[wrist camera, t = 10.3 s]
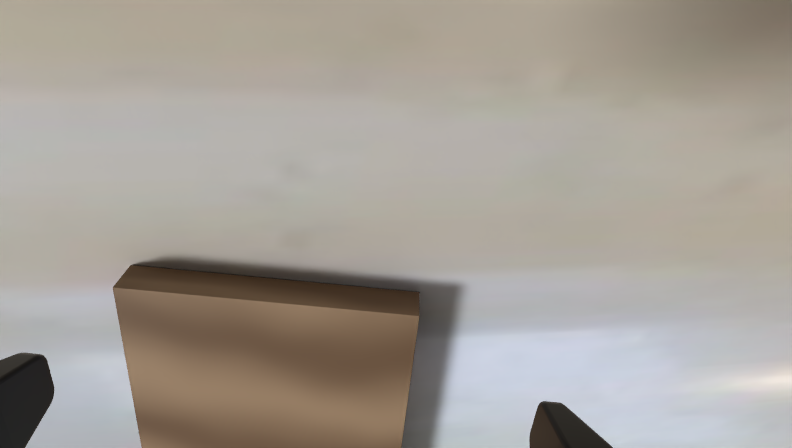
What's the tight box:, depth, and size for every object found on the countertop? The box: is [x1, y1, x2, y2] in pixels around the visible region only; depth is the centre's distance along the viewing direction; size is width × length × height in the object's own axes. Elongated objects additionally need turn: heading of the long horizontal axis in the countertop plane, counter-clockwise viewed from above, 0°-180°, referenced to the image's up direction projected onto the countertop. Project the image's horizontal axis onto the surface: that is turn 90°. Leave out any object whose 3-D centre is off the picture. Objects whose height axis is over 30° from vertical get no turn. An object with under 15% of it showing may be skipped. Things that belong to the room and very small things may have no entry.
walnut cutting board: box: [113, 265, 419, 448], centre depth 27 cm, size 16×12×2 cm
